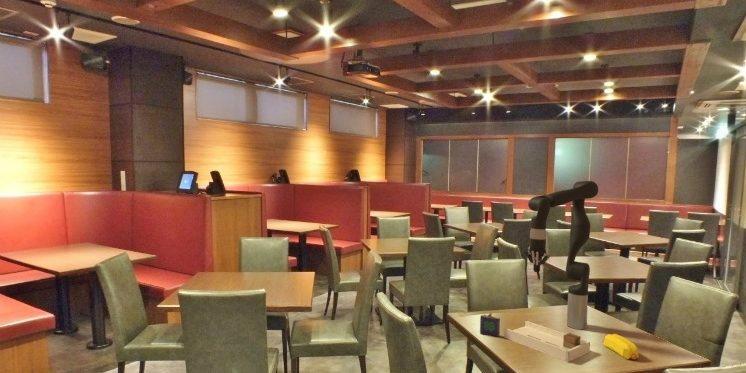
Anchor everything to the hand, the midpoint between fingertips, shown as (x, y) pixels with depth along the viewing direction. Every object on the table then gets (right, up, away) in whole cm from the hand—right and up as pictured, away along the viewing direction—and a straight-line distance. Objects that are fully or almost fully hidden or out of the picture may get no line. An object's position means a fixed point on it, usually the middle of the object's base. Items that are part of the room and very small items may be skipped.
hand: (536, 272), depth 220 cm
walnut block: (+6, -28, -25) cm, 38 cm away
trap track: (-3, -30, -18) cm, 35 cm away
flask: (-25, -29, -7) cm, 39 cm away
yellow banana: (+28, -31, -25) cm, 49 cm away
